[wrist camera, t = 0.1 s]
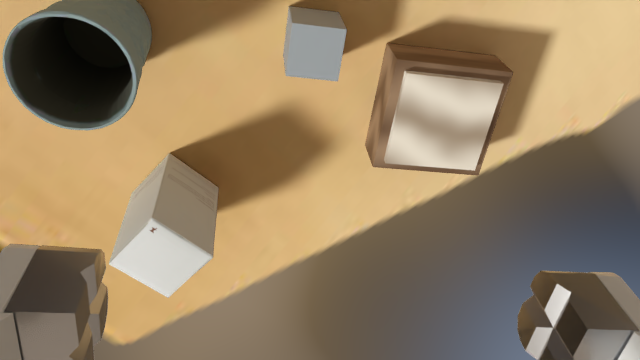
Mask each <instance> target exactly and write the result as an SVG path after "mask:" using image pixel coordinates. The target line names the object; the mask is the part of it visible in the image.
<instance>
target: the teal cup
mask: <svg viewBox="0 0 640 360" xmlns="http://www.w3.org/2000/svg"><path fill="white" fill-rule="evenodd" d="M151 41H152V29H151V25H150V21H149V19H148V16H147V14H146V12H145V11H144V9H143V8H142V6H141V5H140V4H139V3H138V2H137V1H136V0H62V1H59V2H56V3H54V4H52V5H51V6H49V7H48V8H46V9H44V10H42V11H39V12H37V13H35V14H33V15H31V16H29V17H27V18H25V19H23V20H22V21H21V22H20V23H18V24H17V25H16V26H15V27H14V28H13V30H12V31H11V32H10V34H9V36H8V38H7V40H6V43H5V46H4V50H3V68H4V73H5V76H6V79H7V82H8V84H9V86H10V88H11V90H12V91H13V93H14V94H15V96H16V97H17V98H18V100H19V101H20V102H21V103H22V104H23V106H24V107H26V108H27V109H28V110H29V111H30V112H32V113H33V114H34V115H36V116H37V117H39V118H41V119H42V120H44V121H46V122H47V123H50V124H53V125H55V126H58V127H61V128H66V129H72V130H94V129H99V128H103V127H106V126H108V125H111V124H112V123H114V122H116V121H118V120H119V119H120V118H122V117H123V116H124V115H125V114H126V113H127V111H128V110H129V109H130V108H131V106H132V104H133V102H134V100H135V97H136V94H137V89H138V85H139V81H140V78H141V74H142V67H143V66H144V64H145V61H146V57H147V55H148V52H149V49H150V46H151Z"/></svg>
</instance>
